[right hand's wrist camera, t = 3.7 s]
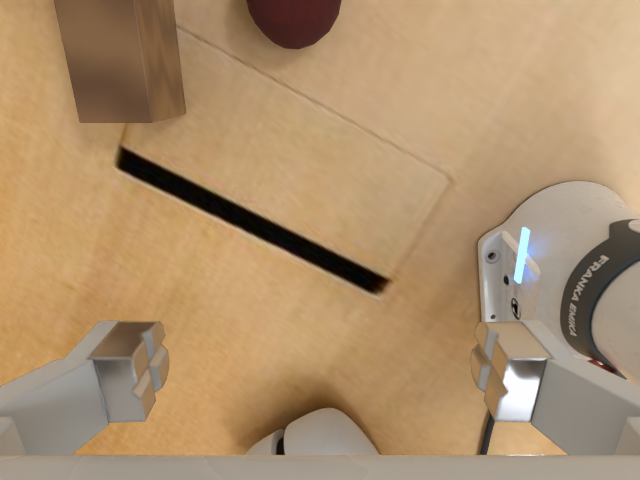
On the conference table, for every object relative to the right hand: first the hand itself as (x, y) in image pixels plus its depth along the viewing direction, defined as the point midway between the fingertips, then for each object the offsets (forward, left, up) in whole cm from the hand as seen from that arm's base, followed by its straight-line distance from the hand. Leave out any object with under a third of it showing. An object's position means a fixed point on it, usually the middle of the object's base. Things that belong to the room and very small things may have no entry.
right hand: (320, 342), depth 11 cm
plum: (+12, +2, -33) cm, 35 cm away
